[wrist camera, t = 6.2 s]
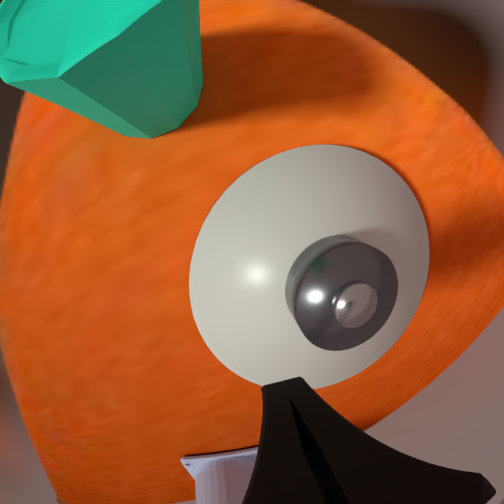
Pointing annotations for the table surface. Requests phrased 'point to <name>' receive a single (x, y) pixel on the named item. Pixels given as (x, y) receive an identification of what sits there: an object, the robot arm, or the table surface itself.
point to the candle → (107, 59)
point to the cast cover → (341, 292)
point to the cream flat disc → (286, 252)
